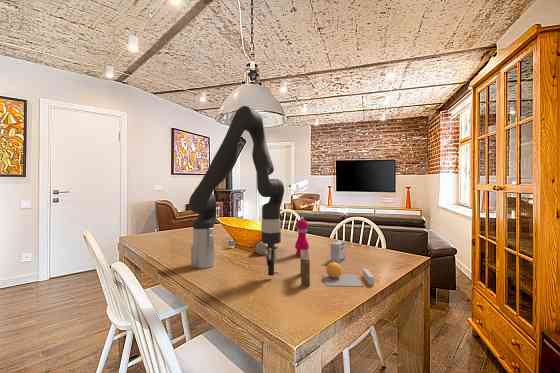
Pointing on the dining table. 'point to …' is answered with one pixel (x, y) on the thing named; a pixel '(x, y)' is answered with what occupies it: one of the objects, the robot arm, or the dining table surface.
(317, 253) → the dining table surface
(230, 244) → the coffee cup
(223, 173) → the robot arm
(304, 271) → the bridge
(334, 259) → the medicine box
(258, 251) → the ceramic sculpture
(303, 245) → the magenta tall lumpy piece
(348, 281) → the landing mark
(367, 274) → the stopper wall
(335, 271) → the ball
